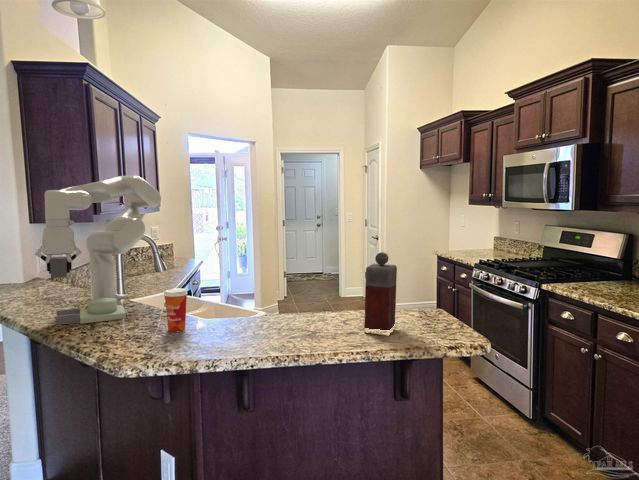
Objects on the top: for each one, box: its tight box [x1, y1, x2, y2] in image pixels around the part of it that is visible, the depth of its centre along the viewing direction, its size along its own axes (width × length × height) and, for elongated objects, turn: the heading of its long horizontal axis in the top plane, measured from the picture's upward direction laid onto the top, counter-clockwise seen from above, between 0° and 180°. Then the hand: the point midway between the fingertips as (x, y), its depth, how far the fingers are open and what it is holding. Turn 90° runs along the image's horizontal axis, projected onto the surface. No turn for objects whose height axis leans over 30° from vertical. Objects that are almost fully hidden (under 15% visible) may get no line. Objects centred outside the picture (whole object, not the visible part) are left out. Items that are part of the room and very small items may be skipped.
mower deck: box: [55, 298, 127, 326], centre depth 157 cm, size 22×14×6 cm, turn 120°
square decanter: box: [364, 251, 398, 330], centre depth 146 cm, size 9×11×28 cm
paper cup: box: [163, 287, 188, 333], centre depth 143 cm, size 8×8×14 cm
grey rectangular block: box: [50, 255, 69, 279], centre depth 154 cm, size 5×6×7 cm
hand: (59, 272), depth 154 cm, fingers closed on grey rectangular block, 5 cm apart
